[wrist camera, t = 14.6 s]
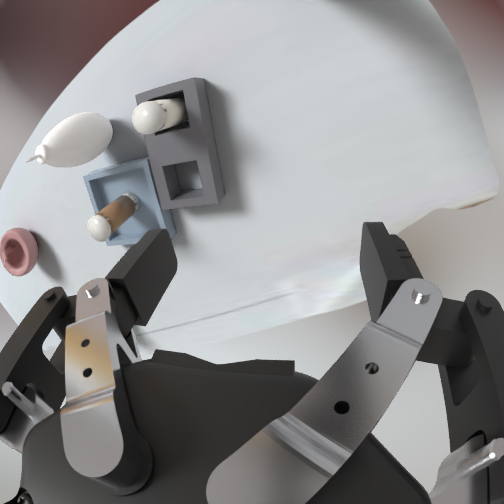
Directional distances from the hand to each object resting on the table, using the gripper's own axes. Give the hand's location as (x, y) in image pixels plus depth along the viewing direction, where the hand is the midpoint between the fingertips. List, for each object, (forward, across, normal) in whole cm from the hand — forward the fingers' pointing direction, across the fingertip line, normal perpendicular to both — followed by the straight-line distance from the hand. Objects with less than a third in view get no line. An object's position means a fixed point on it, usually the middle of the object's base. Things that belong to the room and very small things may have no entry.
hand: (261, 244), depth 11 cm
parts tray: (+29, +27, +8) cm, 41 cm away
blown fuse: (+29, +27, +8) cm, 40 cm away
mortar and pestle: (+30, +65, +14) cm, 73 cm away
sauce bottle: (+30, +29, -5) cm, 42 cm away
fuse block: (+30, +15, 0) cm, 33 cm away
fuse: (+30, +15, -5) cm, 34 cm away
